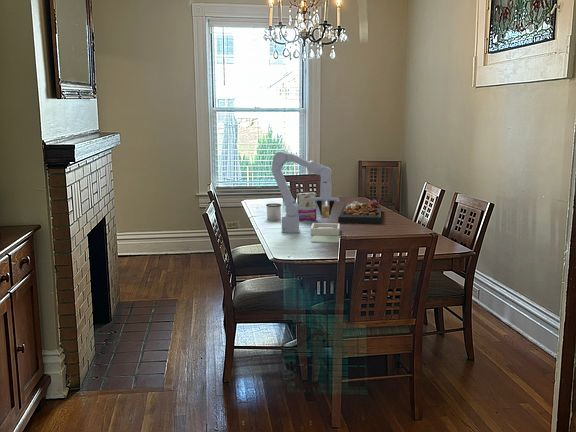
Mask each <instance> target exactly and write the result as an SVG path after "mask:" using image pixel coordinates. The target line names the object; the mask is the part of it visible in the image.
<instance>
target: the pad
mask: <svg viewBox="0 0 576 432" xmlns="http://www.w3.org/2000/svg"><path fill="white" fill-rule="evenodd" d="M339 237H340V238H341V236H340V235H312V238H311V239H310V240H311V241H310V242H311V243H322V244H323V243H327V244H329V243H331V244H334V243H335V244H339V243H340V241H339Z"/></svg>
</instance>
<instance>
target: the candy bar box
mask: <svg viewBox="0 0 576 432" xmlns="http://www.w3.org/2000/svg"><path fill="white" fill-rule="evenodd" d="M312 197H317V193H316V192H297V193H296V203H297V204H298V205H299V211H298V214H299V222H301V221H302V222H305V221H306V222H307V221H317V201H312Z"/></svg>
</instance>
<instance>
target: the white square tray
mask: <svg viewBox="0 0 576 432" xmlns="http://www.w3.org/2000/svg"><path fill="white" fill-rule="evenodd" d="M340 226H341V223H334V222H333V223H329V222H328V223H325V222H324V223H323V222H312V224H311V226H310V235H311V236H340V231H341V230H340V229H341V227H340Z"/></svg>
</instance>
